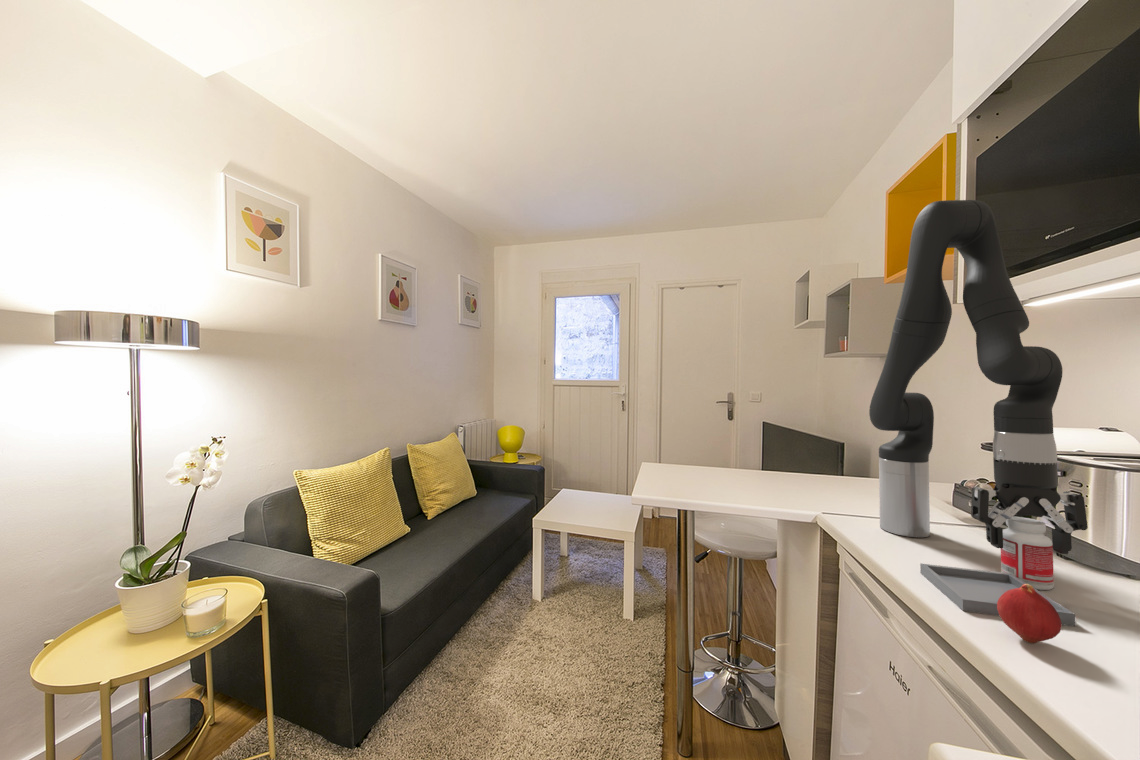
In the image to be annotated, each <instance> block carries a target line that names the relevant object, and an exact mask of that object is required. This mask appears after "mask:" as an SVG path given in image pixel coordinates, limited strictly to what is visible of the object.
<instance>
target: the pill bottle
mask: <svg viewBox="0 0 1140 760" xmlns="http://www.w3.org/2000/svg"><path fill="white" fill-rule="evenodd" d="M1005 525H1006V526H1007V527H1006V528H1003V548H1000V571H1001V573H1010V574H1012V575H1014V576H1015V577H1017V578H1018V579H1020V580H1022V581H1023V582H1025V583H1026V584H1029V585H1031V586H1032V587H1033V588H1034V589H1036V590H1038V591H1040V590H1041V591H1048V590H1053V588H1054V582H1055V580H1054V579H1055V578H1054V577H1055V576H1054V575H1055V574H1054V550H1053V543H1052V538H1050V537H1049V536H1047V535H1046V534H1045V533H1046V531H1047V526H1046V523H1045V522H1044V521H1041V520H1038V519H1034V518H1029V517H1025V516H1013V517H1012V518H1011V519H1007V520H1006V521H1005Z"/></svg>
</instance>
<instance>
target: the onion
mask: <svg viewBox="0 0 1140 760" xmlns="http://www.w3.org/2000/svg"><path fill="white" fill-rule="evenodd" d="M997 609H998V613H999V615H1000V616H999V617H1000V619H1001V621H1002V622H1003V624H1005V625H1006V626H1007V627H1008V629H1011V630H1012V632H1014V633H1015V634H1017V635H1018V636H1019V637H1020V638H1021V639H1022V640H1023V641H1024V642H1026V643H1028V644H1036V643H1040V642H1044V641H1048V640H1052V639H1054V638H1055V637H1056V636H1058V635H1059V634H1060V633H1061V631H1062V627H1063V625H1062V624H1061V619H1060V617H1059V614H1058V613H1057V611H1056V610H1055V608H1054V607H1053V605H1052V604H1051V603H1050V602H1049V601H1048V600H1047V599H1045V598H1044V597H1043V596H1041V595H1040V594H1038V593H1037V592H1036V591H1035V590H1034V588H1033V587H1032V586H1031V585H1029V584H1023V585H1022V586H1021V587H1020V588H1015V589H1011V590H1008V591H1006V592H1005V593H1004V594H1002V595H1001V597H1000V598H999V599H998V602H997Z"/></svg>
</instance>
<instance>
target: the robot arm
mask: <svg viewBox="0 0 1140 760" xmlns="http://www.w3.org/2000/svg"><path fill="white" fill-rule="evenodd" d="M992 210H993V209H991V207H990V206H989V204H987V203H986V202H984V201H982V200H976V199H956V200H954V199H953V200H936V201H933V202H930V203H928V204H927V205H925V207H923V209H922V210H921V211H920V212H919V213H918V214H917V216H916V219H915V221H914V223H913V227H912V230H911V236H910V244H909V251H908V258H907V266H906V273H905V279H904V282H903V283H904V284H903V288H902V293H901V298H900V301H899V304H898V305H899V306H898V309H897V312H896V316H895V319H894V324H893V328H892V331H891V337H890V342H889V347H888V350H887V354H886V358H885V360H884V364H883V368H882V369H881V373H880V376H879V379H878V381H877V383H876V387H875V389H874V392H873V395H872V398H871V400H870V404H869V411H868V413H869V415H868V416H869V420H870V422H871V424H872V425H873V427H874V428H876V429H877V430H879V431H886V432H898V433H897V435H896V437H895V438H893V439H892V440H890V441H888V442H886V443H883V444H881V445H880V446H879V447H878V477H879V478H878V483H879V487H878V489H879V527H880V529H881V530H883V531H886V532H889V533H892V534H895V535H899V536H903V537H910V538H927V537H930V536H931V531H930V528H931V527H930V526H931V525H930V524H931V520H930V517H931V514H930V511H931V510H930V469H929V467H930V466H929V465H930V463H929V461H930V459H929V458H930V453H931V451H932V449H933V444H934V443H933V439H934V425H935V423H934V422H935V415H934V414H935V413H934V408H933V405H932V402H931V400H930V399H929V398H928V397H927V396H926V395H925V394H923V393H920V392H906V391H907V388H908V386H909V384H910V381H911V380H912V378H913V377H914V375H915V373H916V372H918V370H920V368H921V367H923V366H924V365H925V363H927V362H928V361H929V360H930V359H931V358H932V357H933V356H934V355H935V354H936V353H937V351H938V350H940V348H941V347H942V345H943V344H944V341H945V339H946V337H947V334H948V330H949V328H950V327H949V326H950V324H951V320H952V314H953V308H952V304H951V301H950V297H949V295H948V292H947V290H946V286H945V283H944V280H943V266H944V262H945V256H946V253H947V250H948V249H953V248H954V249H956V250H957V251H958V252H959V254H960V255H961V256H962V259H963V260H964V262H965V265H966V277H965V278H966V279H965V283H964V286H963V291H962V304H963V306H964V310H965V313H966V314H967V318H968V319H969V322H970V325H971V326H972V328H973V330H974V332H975V343H976V344H975V345H976V346H975V347H976V358H977V363H978V364H977V365H978V367H979V368H980V371H981V373H982V374H983V375H984V376H985V378H987V379H988V380H989V381H991V382H993V383H995V385H996V384H997V385H1001V386H1009V390H1008V395H1007V397H1006V398H1003V399H1000V400H998V401H996V402H995V403H994V405H993V430H994V431H993V438H992V455H993V457H992V458H993V459H992V460H993V478H994V479H993V480H994V483H995V485H994V488H992V489H991V488H990V489H989V488H983V487H979V486H973V487H972V490H971V507H970V508H971V511H970V512H971V513H970V517H972V519H974V520H977V521H979V522H981V523H984V524H985V533H986V534H985V535H986V538H985V539H986V540H987V542H989V543H990V545H991V546H993V547H994V548H996V549H1001V548H1003V529H1004V528H1003V527H1001V526H1002V525H1003V524H1004V523H1006V520H1007V519H1011V518H1012V517H1015V515H1016V516H1018V517H1028V516H1029V517H1030V516H1032V517H1035V518H1044V519H1045V520H1046V521H1047V522H1048V523H1049V524H1050V525H1051V526H1052V527H1053V528H1051V540H1052V543H1053V552H1057V553H1058V554H1061V555H1068V554H1069V552H1071V551H1072V549H1073V548H1072V544H1073V543H1072V533H1073V532H1074V531H1075V532H1076V531H1086V530H1088V520H1087V519H1088V518H1087V511H1086V504H1085V498H1084V496H1083V495H1081V494H1078V493H1075V492H1070V491H1063V492H1062V493H1061V492H1058V491H1057V490H1058V489H1057V487H1058V486H1059V477H1058V475H1059V473H1058V471H1059V470H1058V451H1057V443H1056V440H1055V434H1054V420H1053V419H1054V416H1053V407H1054V405H1055V402H1056V400H1057V397H1058V393H1059V391H1060V386H1061V384H1062V380H1063V365H1062V362H1061V360H1060V358H1059V356H1058V354H1057V353H1055V352H1054V351H1053V350H1051V349H1049V348H1046V347H1042V346H1037V345H1036V346H1030V345H1028V346H1025V345H1023V343H1022V339H1021V335H1020V334H1022V333H1023V332H1026V330H1028V328H1029V326H1030V321H1029V320H1030V319H1029V318H1028V314H1027V313H1026V311H1025V309H1024V307H1023V305H1022V303H1021V300H1020V299H1019V296H1018V294H1017V292H1016V291H1015V288H1014V287H1013V283H1012V281H1011V279H1010V276H1009V274H1008V271H1007V267H1006V262H1005V260H1004V259H1005V258H1004V254H1003V253H1004V252H1003V249H1002V245H1001V242H1000V241H1001V240H1000V237H999V232H998V228H997V223H996V219H995V215H994V212H993V211H992ZM993 497H994V499H996V500H997V501H996V503H995V504H994V505H993V506H992V507H991V508H990V511H989V505H990V502H991V501H992V500H993V499H992V498H993ZM1058 503H1061V505H1063V508H1064V509H1063V510H1064V516H1063V515H1062V514H1061V513H1060V512H1059V511H1058V510H1057V509H1056V508H1055V507H1056V505H1057V504H1058Z"/></svg>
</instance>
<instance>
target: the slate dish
mask: <svg viewBox="0 0 1140 760" xmlns="http://www.w3.org/2000/svg"><path fill="white" fill-rule="evenodd" d="M919 565H920V568H919V570H920V574H921V575H922V576H924V578H925V579H926V580H928V581H929V582H930V583H931V584H932V585H934V587H935V588H937V589H938V590H939V591H940V592H941V593H942V594H944V595H945V597H947V599H949V601H951V602H952V603H954V605H956V606H957V607H958V608H959V609H960V610H961V611H962V612H969V613H974V614H975V613H977V614H984V615H992V616H998V617H1000V615H999V613H998V609H997V602H998V599H999V598H1000V597H1001V595H1002V594H1004V593H1005V592H1006V591H1008V590H1011V589H1015V588H1020V587H1021V586H1022V585H1023V584H1026V583H1025V582H1023V581H1022V580H1020V579H1018V578H1017V577H1015V576H1014V575H1012V574H1010V573H1001V572H1000V571H999V572H998V571H990V570H981V569H973V568H965V567H964V568H963V567H958V566H957V567H955V566H954V567H953V566H948V565H947V566H946V565H940V564H939V565H937V564H928V563H921V562H920V564H919ZM1034 590H1035V591H1036V592H1037V593H1038V594H1040V595H1041V596H1043V597H1044V598H1045V599H1047V600H1048V601H1049V602H1050V603H1051V604H1052V605H1053V607H1054V608H1055V610H1056V611H1057V613H1058V614H1059V617H1060V619H1061V624H1062V626H1070V627H1076V613H1074V612H1072V610H1070V609H1068V608H1067V607H1065V606H1063V605H1061V604H1060V603H1058V602H1056V601H1055V600H1054V599H1052V598H1050V597H1049V596H1047V595H1046V594H1044V593H1042V592H1041V591H1040V590H1037V589H1034Z"/></svg>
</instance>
